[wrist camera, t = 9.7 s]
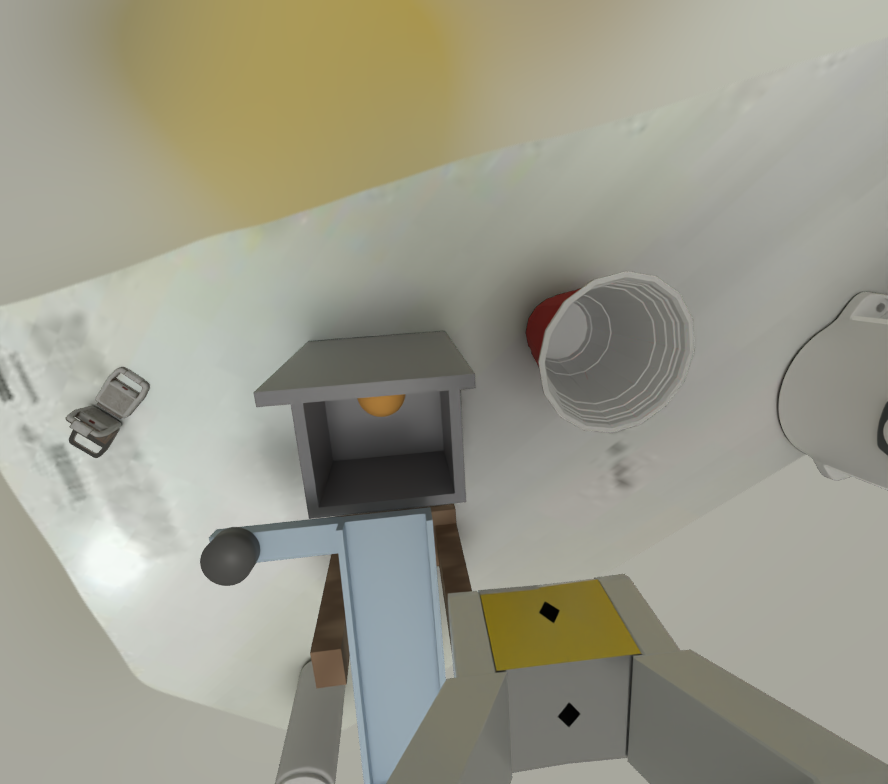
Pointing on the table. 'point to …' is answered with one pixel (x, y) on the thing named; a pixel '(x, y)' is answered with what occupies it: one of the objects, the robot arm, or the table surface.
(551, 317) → the plastic cup
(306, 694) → the beverage can
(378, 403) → the ball
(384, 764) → the lever
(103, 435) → the grey hinged case
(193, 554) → the table surface
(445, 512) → the stand
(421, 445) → the bin
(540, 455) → the table surface
